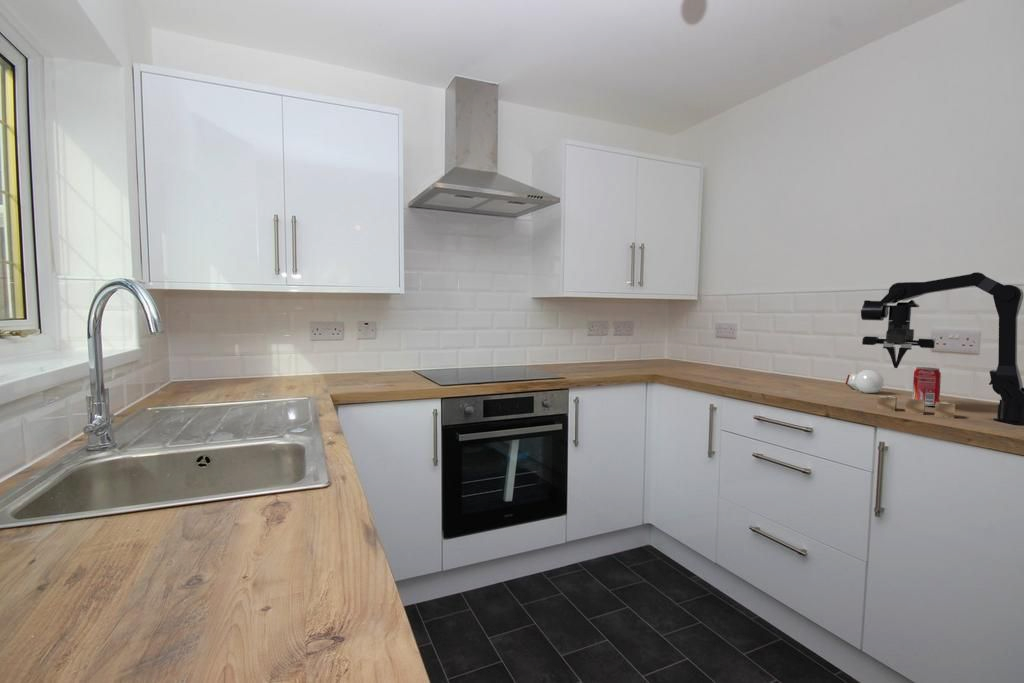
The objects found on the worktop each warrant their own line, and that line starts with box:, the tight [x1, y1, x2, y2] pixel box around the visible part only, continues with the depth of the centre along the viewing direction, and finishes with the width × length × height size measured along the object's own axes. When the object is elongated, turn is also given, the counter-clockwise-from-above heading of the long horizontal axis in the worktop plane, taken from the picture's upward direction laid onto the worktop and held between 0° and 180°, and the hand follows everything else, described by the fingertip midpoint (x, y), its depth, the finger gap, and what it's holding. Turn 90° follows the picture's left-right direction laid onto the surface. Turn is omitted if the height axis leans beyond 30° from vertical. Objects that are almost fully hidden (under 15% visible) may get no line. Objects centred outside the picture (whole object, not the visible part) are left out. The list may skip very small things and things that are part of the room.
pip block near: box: [934, 401, 956, 419], centre depth 152 cm, size 4×4×4 cm
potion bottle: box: [845, 369, 885, 394], centre depth 199 cm, size 9×10×15 cm
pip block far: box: [877, 395, 898, 411], centre depth 161 cm, size 4×4×4 cm
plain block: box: [904, 398, 926, 414], centre depth 156 cm, size 4×4×4 cm
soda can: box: [911, 366, 942, 406], centre depth 169 cm, size 7×7×13 cm
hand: (895, 368), depth 165 cm, fingers closed
